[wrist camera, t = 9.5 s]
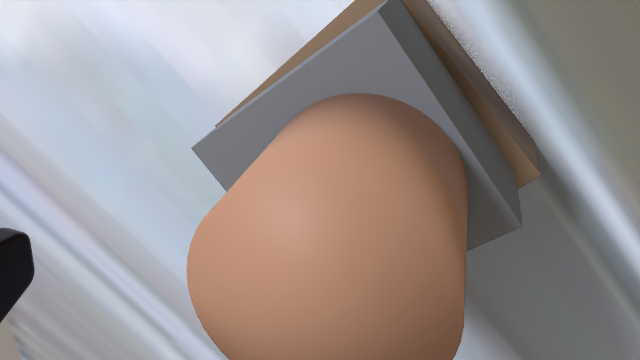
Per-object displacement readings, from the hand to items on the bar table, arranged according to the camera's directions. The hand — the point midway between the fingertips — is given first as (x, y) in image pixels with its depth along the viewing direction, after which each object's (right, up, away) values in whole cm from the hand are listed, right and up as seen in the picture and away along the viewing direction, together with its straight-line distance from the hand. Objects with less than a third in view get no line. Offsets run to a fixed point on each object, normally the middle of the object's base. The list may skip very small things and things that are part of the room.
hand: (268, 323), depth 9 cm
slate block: (+2, +4, +7) cm, 8 cm away
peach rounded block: (+2, +2, +5) cm, 5 cm away
